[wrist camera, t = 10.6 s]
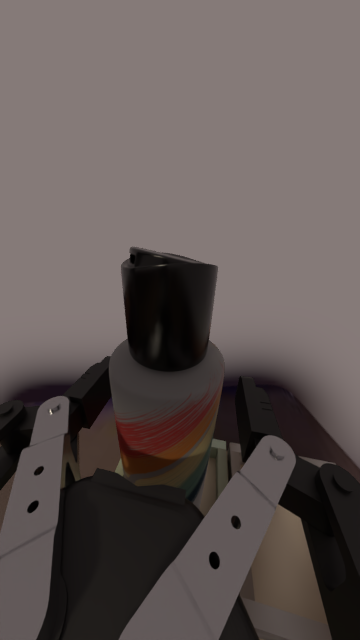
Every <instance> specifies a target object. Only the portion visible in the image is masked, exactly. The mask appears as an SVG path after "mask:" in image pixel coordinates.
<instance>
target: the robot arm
mask: <svg viewBox="0 0 360 640" xmlns="http://www.w3.org/2000/svg"><path fill="white" fill-rule="evenodd" d="M110 358H111V357H110V356H107V357H105V358H104V360H102V362H101V363H96V364H95V365H93V366H91V367H90V368H89V369H88V370H87V371H86V372H85V374H83V375H82V376H81V378H79V379H78V380H77V381H76V382H75V383H74V384H73V385H72V386H71V387H70V388H69V389H68V391H66V392H65V393H64V395H63V396H58V397H54V398H51V399H49V400H47V401H46V402H44V403H43V404H42V405H41V406H33V407H25V406H24V404H23V402H22V401H20V400H13V401H9V402H6V403H3V404H1V405H0V444H1V445H2V446H1V447H0V490H1V489H2V488H3V486H4V485H5V484H6V483H7V482H8V480H9V479H10V478H11V477H12V475H13V474H14V473H15V472H16V475H15V478H14V482H13V486H12V490H11V494H10V498H9V502H8V505H7V509H6V513H5V517H4V521H3V525H2V529H1V532H0V640H259V637H258V635H257V633H256V631H255V628H254V626H253V624H252V621H251V619H250V617H249V614H248V612H247V610H246V607H245V605H244V603H243V601H242V598H241V596H240V594H239V592H240V590H241V588H242V585H243V583H244V581H245V579H246V576H247V574H248V572H249V570H250V567H251V565H252V563H253V560H254V558H255V556H256V554H257V551H258V549H259V547H260V545H261V542H262V540H263V538H264V536H265V533H266V531H267V529H268V527H269V524H270V522H271V520H272V517H273V515H274V513H275V510H276V507H277V505H280V506H282V507H283V508H285V509H286V510H288V511H290V512H291V513H293V514H294V515H296V516H298V517H299V518H301V522H302V526H303V530H304V534H305V538H306V541H307V545H308V549H309V553H310V557H311V561H312V564H313V568H314V572H315V576H316V580H317V584H318V587H319V591H320V595H321V599H322V603H323V607H324V611H325V614H326V618H327V622H328V626H329V630H330V634H331V637H332V640H360V484H359V482H358V481H357V480H356V479H355V478H354V477H353V476H352V475H351V474H350V473H349V472H347V471H346V470H345V469H343V468H341V467H340V466H337V465H335V464H331V463H325V464H323V465H322V466H321V467H318V466H316V465H314V464H312V463H310V462H308V461H306V460H304V459H302V458H300V457H299V456H297V455H296V454H295V453H294V452H293V450H292V449H291V447H290V446H289V445H288V444H287V443H286V442H285V441H284V440H283V438H282V435H281V432H280V429H279V426H278V423H277V420H276V417H275V414H274V412H273V409H272V406H271V403H270V400H269V397H268V395H267V393H266V392H265V391H264V390H263V389H262V388H259V387H256V385H255V382H254V379H253V378H251V377H244V376H240V378H239V382H238V386H237V391H236V396H235V406H236V414H237V423H238V431H239V439H240V448H241V456H242V462H244V463H245V464H244V466H243V467H242V469H241V470H240V471H237V472H236V473H235V474H234V476H233V477H232V478H231V480H230V481H229V483H228V484H227V486H226V487H225V489H224V490H223V491H222V493H221V494H220V496H219V497H218V499H217V500H216V502H215V503H214V504H213V506H212V507H211V509H210V510H209V512H208V513H207V515H206V516H205V517H204V515H203V514H202V512H201V511H200V510H199V509H198V508H197V507H196V506H195V505H194V504H193V503H192V502H191V501H189V500H188V499H186V498H185V497H186V490H184V489H180V488H176V487H172V486H168V485H164V484H160V485H148V486H136V485H135V484H133V483H132V482H130V481H129V480H127V479H126V478H124V477H123V476H121V475H120V474H118V473H115V472H111V471H107V470H103V469H99V468H97V469H96V471H95V473H94V475H93V476H90V477H85V478H83V479H81V476H80V469H79V433H78V432H79V431H80V430H81V428H82V427H83V428H88V429H90V427H91V426H92V424H93V423H94V421H95V420H96V418H97V417H98V415H99V414H100V412H101V411H102V409H103V408H104V406H105V405H106V403H107V402H108V400H109V399H110V397H111V396H112V393H111V386H110V379H109V362H110ZM16 470H17V471H16Z"/></svg>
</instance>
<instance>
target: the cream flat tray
mask: <svg viewBox="0 0 360 640" xmlns="http://www.w3.org/2000/svg"><path fill="white" fill-rule="evenodd" d="M299 457H300V458H302V459H304V460H306V461H308V462H310V463H312V464H314V465H316V466H318V467H321V466H322V465H323V464H325V463H331V462H326V461H321V460H316V459H311V458H306V457H301V456H299ZM244 464H245V463H244V462H242V456H241V448H240V444H236V443H231V442H230V444H229V448H228V451H226V441H222V440H217V439H213V440H212V445H211V450H210V456H209V461H208V466H207V472H206V477H205V482H204V488H203V493H202V498H201V504H200V509H199V510H200V511H201V512H202V514H203V515H204V517H205V516H206V515H207V513H208V512H209V510H210V509H211V507H212V506H213V504H214V503H215V502H216V500H217V499H218V497H219V496H220V494H221V493H222V491H223V490H224V489H225V487H226V486H227V484H228V483H229V481H230V480H231V478H232V477H233V476H234V474H235V473H236V472H237V471H240V470H241V469H242V467H243V466H244ZM331 464H335V463H331ZM335 465H336V464H335ZM115 473H118V474H120V475H121V476H123V477H124V473H123V466H122V460H121V459H120V462H119V464H118V466H117V468H116V471H115ZM239 594H240V596H241V598H242V601H243V603H244V605H245V607H246V610H247V612H248V614H249V617H250V619H251V621H252V624H253V626H254V628H255V631H256V633H257V635H258V637H259V640H332V637H331V634H330V630H329V626H328V622H327V618H326V614H325V611H324V607H323V603H322V599H321V595H320V591H319V587H318V584H317V580H316V576H315V572H314V568H313V564H312V561H311V557H310V553H309V549H308V545H307V541H306V538H305V534H304V530H303V526H302V522H301V518H299V517H298V516H296V515H294V514H293V513H291V512H290V511H288V510H286V509H285V508H283V507H282V506H280V505H277V507H276V510H275V513H274V515H273V517H272V520H271V522H270V524H269V527H268V529H267V531H266V533H265V536H264V538H263V540H262V542H261V545H260V547H259V549H258V551H257V554H256V556H255V558H254V560H253V563H252V565H251V567H250V570H249V572H248V574H247V576H246V579H245V581H244V583H243V585H242V588H241V590H240V592H239Z"/></svg>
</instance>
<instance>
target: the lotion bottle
mask: <svg viewBox="0 0 360 640" xmlns="http://www.w3.org/2000/svg"><path fill="white" fill-rule="evenodd" d="M130 253H131V254H130V258H129V259H127V260H126V261H124V262H123V263H122V265H121V274H122V285H123V296H124V305H125V316H126V327H127V336H128V339H126V340H125V341H123V342H122V343H121V344H120V345H119V346H118V347H117V348H116V349H115V351H114V352H113V354H112V356H111V358H110V362H109V379H110V386H111V393H112V400H113V407H114V414H115V420H116V427H117V433H118V440H119V447H120V453H121V460H122V466H123V473H124V478H126V479H127V480H129V481H130V482H132V483H133V484H135V485H136V486H148V485H160V484H164V485H168V486H172V487H176V488H180V489H184V490H186V497H185V498H186V499H188V500H189V501H191V502H192V503H193V504H194V505H195V506H196V507H197V508H198V509H200V504H201V498H202V493H203V488H204V482H205V477H206V472H207V466H208V461H209V456H210V450H211V445H212V440H213V434H214V429H215V424H216V418H217V413H218V408H219V402H220V397H221V391H222V386H223V379H224V371H225V365H224V359H223V356H222V354H221V353H220V351H219V349H218V348H217V347H216V346H215V345H214V344H213V343H212V342H211V341H209V334H210V327H211V319H212V311H213V303H214V296H215V288H216V280H217V272H218V267H217V266H215V265H211V264H205V263H202V262H199V261H196V260H193V259H190V258H187V257H183V256H180V255H175V254H170V253H160V252H156V251H152V250H147V249H143V248H138V247H131V248H130Z"/></svg>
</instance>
